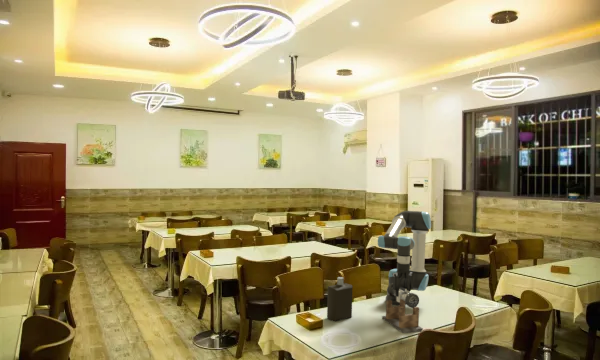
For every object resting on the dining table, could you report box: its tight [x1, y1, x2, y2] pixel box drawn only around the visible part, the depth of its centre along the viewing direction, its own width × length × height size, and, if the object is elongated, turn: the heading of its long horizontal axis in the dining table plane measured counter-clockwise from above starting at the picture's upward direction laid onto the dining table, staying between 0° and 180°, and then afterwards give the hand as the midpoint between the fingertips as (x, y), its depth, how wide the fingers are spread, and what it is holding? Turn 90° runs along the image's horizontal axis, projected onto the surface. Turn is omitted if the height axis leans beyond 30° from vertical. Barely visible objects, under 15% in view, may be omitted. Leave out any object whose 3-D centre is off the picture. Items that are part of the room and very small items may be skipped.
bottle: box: [326, 276, 353, 322], centre depth 262 cm, size 8×16×25 cm, turn 127°
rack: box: [381, 299, 424, 334], centre depth 253 cm, size 13×24×12 cm, turn 18°
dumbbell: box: [386, 283, 420, 309], centre depth 252 cm, size 8×23×8 cm, turn 18°
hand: (402, 301), depth 252 cm, fingers closed on dumbbell, 5 cm apart
